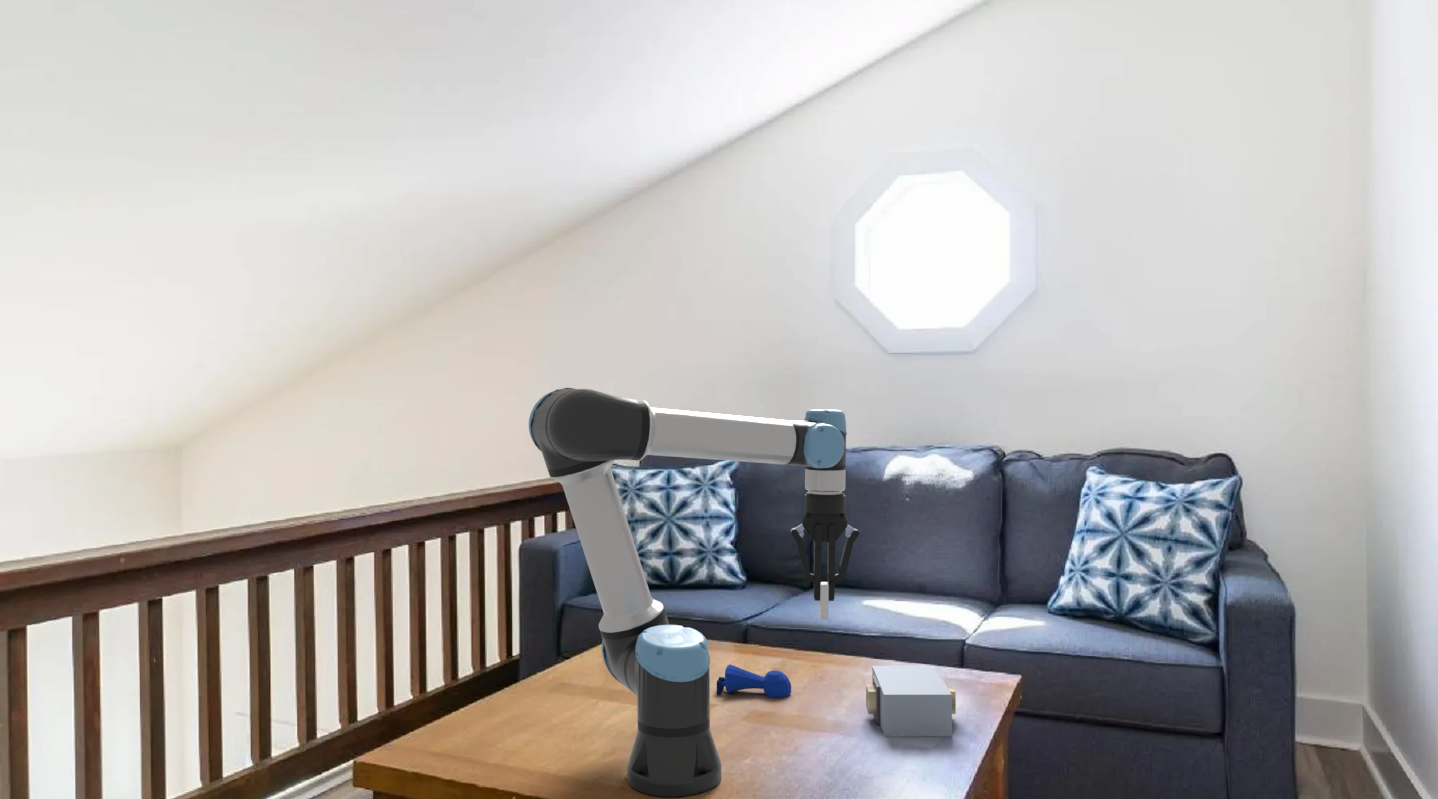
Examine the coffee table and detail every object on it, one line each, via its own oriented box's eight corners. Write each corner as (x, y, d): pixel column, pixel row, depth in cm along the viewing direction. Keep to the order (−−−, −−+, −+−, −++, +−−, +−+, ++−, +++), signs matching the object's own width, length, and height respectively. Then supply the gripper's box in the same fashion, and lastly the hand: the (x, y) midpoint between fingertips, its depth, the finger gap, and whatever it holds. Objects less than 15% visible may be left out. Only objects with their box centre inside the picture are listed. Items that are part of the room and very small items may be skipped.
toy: (716, 700, 204) (790, 700, 202) (714, 669, 204) (788, 669, 202) (721, 690, 211) (793, 690, 208) (720, 660, 211) (791, 660, 208)
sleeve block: (952, 736, 180) (951, 694, 180) (880, 736, 180) (880, 694, 180) (934, 703, 198) (933, 665, 198) (869, 703, 198) (869, 665, 198)
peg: (955, 714, 187) (955, 691, 187) (868, 714, 187) (868, 691, 187) (951, 706, 191) (951, 684, 191) (866, 706, 192) (865, 684, 191)
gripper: (858, 490, 192) (856, 614, 193) (789, 489, 193) (788, 612, 193) (862, 494, 185) (860, 623, 185) (790, 493, 185) (789, 622, 186)
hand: (823, 617), depth 189 cm, fingers closed
